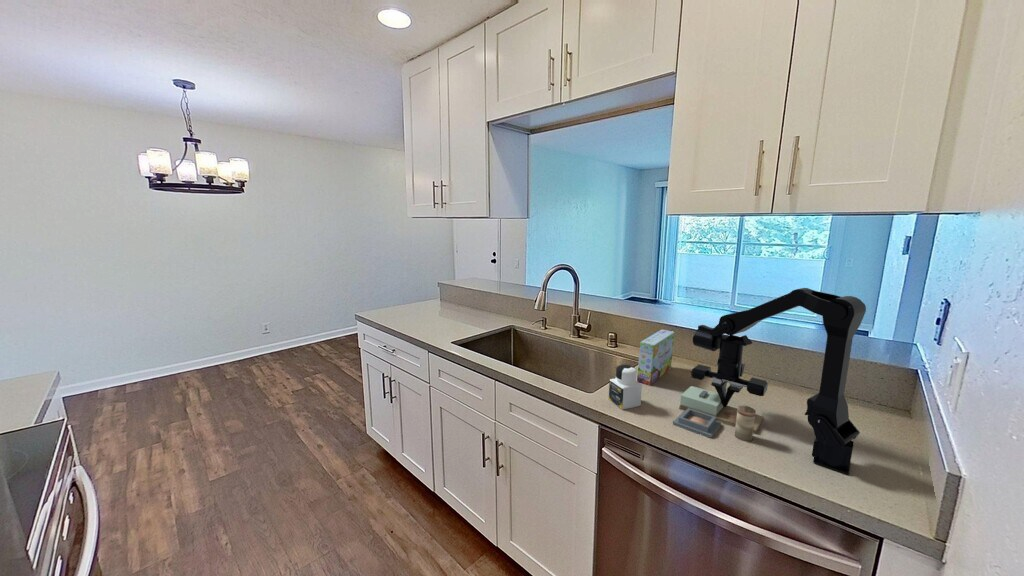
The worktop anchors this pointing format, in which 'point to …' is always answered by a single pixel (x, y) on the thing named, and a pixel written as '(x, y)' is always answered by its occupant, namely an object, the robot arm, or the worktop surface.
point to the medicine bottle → (625, 388)
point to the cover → (701, 400)
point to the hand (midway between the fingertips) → (724, 406)
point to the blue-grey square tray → (697, 422)
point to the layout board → (730, 416)
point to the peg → (744, 423)
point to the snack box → (655, 356)
